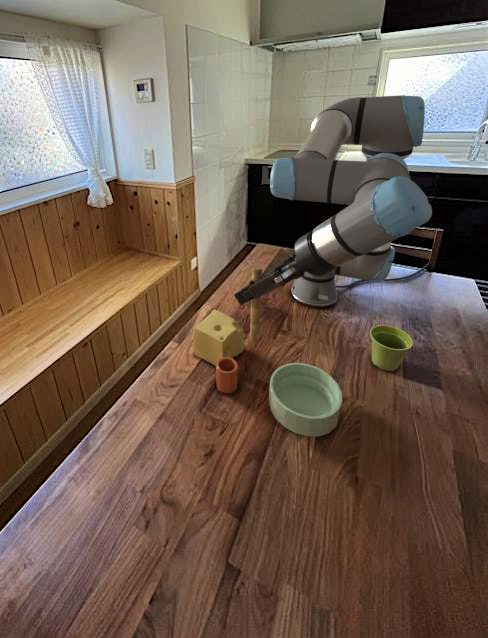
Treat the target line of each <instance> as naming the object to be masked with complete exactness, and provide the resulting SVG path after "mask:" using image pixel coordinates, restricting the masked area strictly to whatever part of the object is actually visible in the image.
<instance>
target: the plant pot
mask: <svg viewBox="0 0 488 638" xmlns="http://www.w3.org/2000/svg"><path fill="white" fill-rule="evenodd" d="M369 335H370V339H371V362H372V363H373V365H374V366H376V367H378V368H379V369H380V370H383V371H386V372H394V371H396V370H397V369H398V368H399V367H400V364H401V363H402V361H403V359H404V357H405V355H406V353H407V352H408V351H410V350H411V349H412V347H413V346H414V341H413V339H412V337H411V336H410V335H409V334H408V333H407V332H406V331H404V330H403V329H401V328H398V327H396V326H393V325H387V324H379V325H375V326H372V328H371V329H370V330H369Z"/></svg>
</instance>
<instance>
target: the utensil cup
mask: <svg viewBox="0 0 488 638" xmlns="http://www.w3.org/2000/svg"><path fill="white" fill-rule="evenodd" d="M215 384H216V388H217V389H218V391H219V392H221V393H224V394H231V393H234V392H236V390H237V389H238V385H239V364H238V362H237V360H235V358H234V357H233V358H230V357H223V358H220V359H219V360H218V361H217V363H216V366H215Z"/></svg>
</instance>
